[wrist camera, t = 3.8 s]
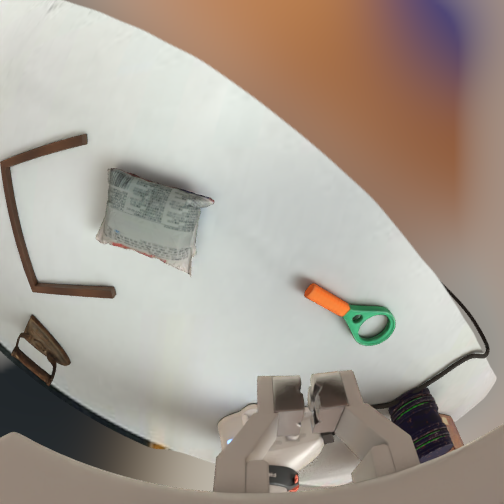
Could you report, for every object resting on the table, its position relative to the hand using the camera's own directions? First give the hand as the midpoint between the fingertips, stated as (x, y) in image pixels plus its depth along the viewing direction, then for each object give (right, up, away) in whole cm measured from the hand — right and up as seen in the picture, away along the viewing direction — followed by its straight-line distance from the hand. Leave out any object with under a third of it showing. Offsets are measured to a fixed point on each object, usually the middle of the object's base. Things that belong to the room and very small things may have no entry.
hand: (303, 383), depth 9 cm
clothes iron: (-39, -12, +29) cm, 50 cm away
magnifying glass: (+11, -3, +25) cm, 27 cm away
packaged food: (-12, +9, +20) cm, 25 cm away
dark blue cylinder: (+31, -26, +35) cm, 53 cm away
